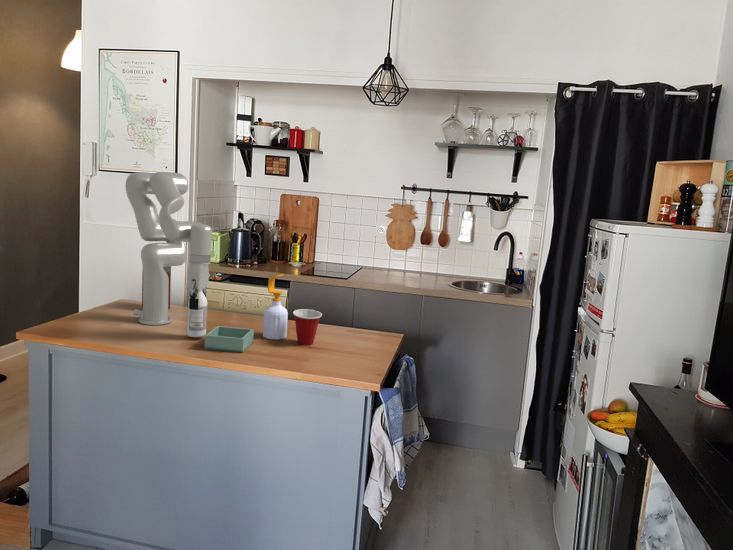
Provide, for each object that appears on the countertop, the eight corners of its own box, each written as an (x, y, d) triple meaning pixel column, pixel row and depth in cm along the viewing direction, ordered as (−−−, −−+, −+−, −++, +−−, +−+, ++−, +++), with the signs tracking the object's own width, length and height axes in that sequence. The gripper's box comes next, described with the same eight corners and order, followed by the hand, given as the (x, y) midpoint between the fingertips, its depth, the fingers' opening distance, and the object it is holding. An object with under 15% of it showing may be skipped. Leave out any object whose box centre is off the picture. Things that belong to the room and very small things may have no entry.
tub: (204, 349, 202) (204, 335, 201) (217, 339, 215) (217, 326, 214) (242, 352, 201) (243, 338, 200) (253, 342, 214) (253, 329, 213)
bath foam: (209, 336, 214) (211, 283, 210) (190, 338, 209) (193, 284, 206) (201, 331, 219) (203, 279, 215) (183, 333, 215) (185, 280, 211)
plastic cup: (297, 348, 211) (299, 316, 209) (287, 340, 220) (288, 309, 219) (324, 346, 216) (326, 315, 214) (313, 338, 225) (315, 308, 224)
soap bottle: (279, 341, 218) (282, 277, 214) (258, 337, 221) (261, 274, 217) (290, 336, 227) (294, 274, 223) (270, 332, 230) (273, 271, 226)
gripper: (198, 254, 218) (196, 300, 221) (180, 261, 201) (178, 311, 204) (217, 256, 218) (215, 302, 221) (201, 263, 200) (199, 313, 204)
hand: (197, 306), depth 212 cm, fingers closed on bath foam, 7 cm apart
